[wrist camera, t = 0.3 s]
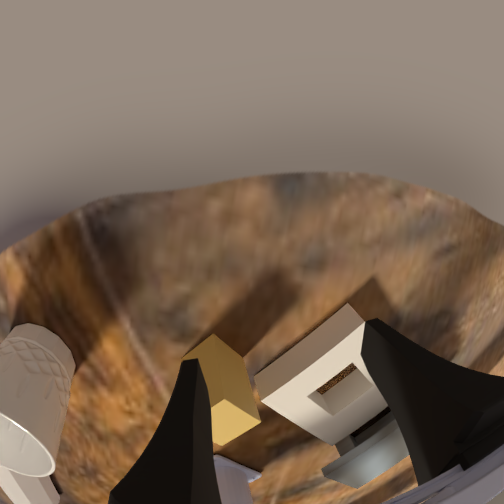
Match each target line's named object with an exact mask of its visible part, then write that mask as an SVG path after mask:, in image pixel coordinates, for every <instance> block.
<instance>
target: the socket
mask: <svg viewBox="0 0 504 504" xmlns="http://www.w3.org/2000/svg"><path fill="white" fill-rule="evenodd" d="M364 326H365V321H364V320H363V319H362V318H361V317H360V316H359V315H358V313H357V312H356V311H355V310H354V309H353V308H352V307H351V306H350V305H349V303H347V304H346V305H344V306H343V307H342V308H341V309H340V310H338V311H337V312H336V313H335V314H334V315H332V316H331V317H330V318H329V319H328V320H326V321H325V322H324V323H323V324H322V325H320V326H319V327H318V328H317V329H315V330H314V331H313V332H312V333H310V334H309V335H308V336H307V337H305V338H304V339H303V340H302V341H300V342H299V343H298V344H296V345H295V346H294V347H293V348H291V349H290V350H289V351H287V352H286V353H285V354H283V355H282V356H281V357H279V358H278V359H277V360H275V361H274V362H273V363H271V364H270V365H269V366H267V367H266V368H265V369H263V370H262V371H260V372H259V373H258V374H256V375H255V376H254V381H255V384H256V387H257V390H258V394H259V397H260V400H261V402H263V403H264V404H266V405H267V406H269V407H270V408H272V409H273V410H275V411H276V412H278V413H279V414H281V415H282V416H284V417H286V418H287V419H289V420H290V421H292V422H293V423H295V424H297V425H298V426H300V427H301V428H303V429H305V430H306V431H308V432H309V433H311V434H313V435H314V436H316V437H318V438H319V439H321V440H323V441H325V442H326V443H328V444H330V445H331V446H333V445H334V444H336V443H337V442H339V441H340V440H342V439H343V438H345V437H346V436H348V435H349V434H351V433H352V432H354V431H355V430H357V429H358V428H359V427H361V426H362V425H364V424H365V423H366V422H368V421H369V420H371V419H372V418H373V417H375V416H376V415H377V414H379V413H380V412H381V411H383V410H384V409H385V408H386V407H388V404H387V403H386V401H385V399H384V398H383V396H382V394H381V393H380V391H379V390H378V388H377V386H376V385H375V383H374V381H373V380H372V378H371V376H370V375H369V373H368V371H367V369H366V366H365V364H364V362H363V359H362V357H361V355H360V354H361V347H362V340H363V333H364ZM351 363H353V364H354V365H355V366H356V367H357V369H355V370H354V371H353V372H351V373H350V374H349V375H348V376H346V377H345V378H344V379H342V380H341V381H340V382H338V383H337V384H336V385H334V386H333V387H332V388H330V389H329V390H328V391H326V392H325V393H324V394H322V395H321V394H320V393H319V392H318V391H316V389H318V388H319V387H321V386H322V385H323V384H325V383H326V382H327V381H329V380H330V379H331V378H333V377H334V376H335V375H337V374H338V373H339V372H340V371H342V370H343V369H344V368H346V367H347V366H348V365H349V364H351Z"/></svg>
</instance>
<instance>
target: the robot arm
mask: <svg viewBox="0 0 504 504" xmlns="http://www.w3.org/2000/svg"><path fill="white" fill-rule="evenodd" d="M360 355H361V357H362V359H363V362H364V364H365V366H366V369H367V371H368V373H369V375H370V376H371V378H372V380H373V381H374V383H375V385H376V386H377V388H378V390H379V391H380V393H381V394H382V396H383V398H384V399H385V401H386V403H387V404H388V406H389V408H390V409H391V411H392V413H393V415H394V417H395V419H396V422H397V424H398V426H399V428H400V431H401V433H402V436H403V438H404V441H405V443H406V446H407V449H408V452H409V455H410V458H411V461H412V464H413V467H414V471H415V474H416V478H417V482H418V487H416V488H414V489H412V490H410V491H408V492H406V493H403V494H401V495H399V496H397V497H395V498H392V499H390V500H388V501H385V502H383V503H380V504H419V503H421V502H423V501H425V500H426V501H425V502H423V503H421V504H485V503H487V502H488V501H490V500H491V499H492V498H494V497H495V496H496V495H498V494H499V493H500V492H502V491H503V490H504V377H501V376H495V375H490V374H486V373H482V372H478V371H474V370H471V369H468V368H465V367H462V366H460V365H457V364H454V363H452V362H450V361H448V360H445V359H443V358H441V357H439V356H437V355H435V354H433V353H431V352H429V351H428V350H426V349H424V348H422V347H421V346H419V345H417V344H416V343H414V342H413V341H411V340H409V339H408V338H406V337H405V336H403V335H402V334H400V333H399V332H397V331H396V330H394V329H393V328H391V327H390V326H388V325H387V324H385V323H384V322H382V321H381V320H379V319H378V318H376V319H372V320H369V321H365V326H364V333H363V340H362V347H361V354H360ZM261 476H262V475H261V473H259V472H257V471H254V470H252V469H250V468H247V467H245V466H243V465H240V464H238V463H236V462H234V461H231V460H229V459H227V458H225V457H223V456H220V455H214V456H213V439H212V417H211V406H210V399H209V393H208V388H207V385H206V382H205V379H204V376H203V373H202V370H201V366H200V363H199V360H198V358H195V359H189V360H183V361H182V362H181V366H180V370H179V374H178V378H177V381H176V384H175V387H174V390H173V393H172V396H171V398H170V401H169V404H168V406H167V408H166V411H165V413H164V415H163V418H162V420H161V422H160V424H159V426H158V428H157V430H156V432H155V433H154V435H153V437H152V439H151V440H150V442H149V444H148V445H147V447H146V449H145V450H144V452H143V453H142V455H141V456H140V458H139V459H138V460H137V461H136V463H135V464H134V465H133V467H132V468H131V469H130V471H129V472H128V473H127V474H126V475H125V477H124V478H123V479H122V480H121V481H120V482H119V483H118V484H117V485H116V486H115V487H114V488H113V489H112V490H111V492H110V496H109V501H108V504H253V501H252V497H251V492H250V488H249V484H248V483H250V482H252V481H254V480H256V479H258V478H260V477H261ZM432 496H433V497H432ZM427 499H428V500H427Z"/></svg>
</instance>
